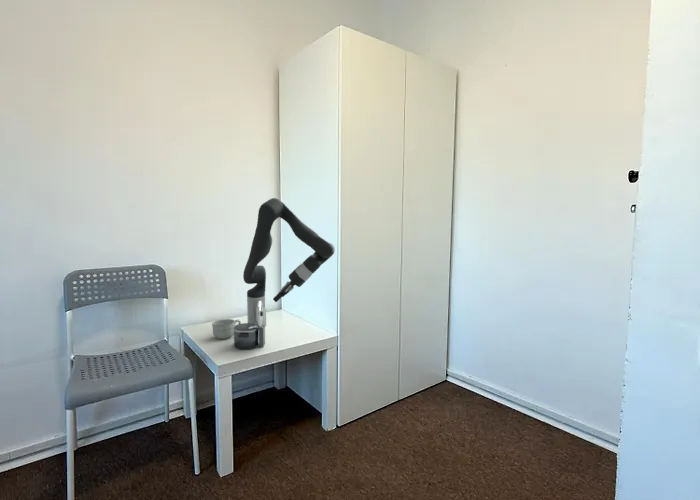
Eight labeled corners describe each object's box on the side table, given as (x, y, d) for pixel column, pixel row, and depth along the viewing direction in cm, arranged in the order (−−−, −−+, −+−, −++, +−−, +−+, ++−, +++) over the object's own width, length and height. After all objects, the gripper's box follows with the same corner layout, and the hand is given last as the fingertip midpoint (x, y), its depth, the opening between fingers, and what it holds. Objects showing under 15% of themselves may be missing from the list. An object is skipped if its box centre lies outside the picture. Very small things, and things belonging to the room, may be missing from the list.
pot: (237, 339, 196) (237, 321, 194) (266, 339, 196) (266, 321, 195) (230, 351, 181) (230, 331, 180) (261, 351, 182) (261, 331, 181)
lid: (260, 297, 192) (264, 297, 192) (260, 322, 194) (264, 322, 194) (255, 304, 180) (260, 304, 181) (256, 330, 182) (260, 330, 182)
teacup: (213, 342, 192) (213, 325, 191) (211, 334, 202) (211, 319, 201) (243, 338, 198) (242, 322, 197) (239, 331, 208) (239, 316, 207)
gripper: (296, 266, 192) (270, 291, 193) (294, 271, 179) (266, 298, 180) (307, 277, 193) (282, 302, 194) (306, 283, 180) (278, 309, 181)
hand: (274, 300), depth 187 cm, fingers closed
